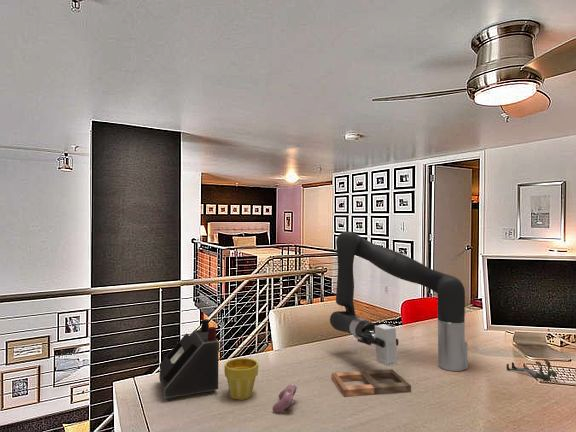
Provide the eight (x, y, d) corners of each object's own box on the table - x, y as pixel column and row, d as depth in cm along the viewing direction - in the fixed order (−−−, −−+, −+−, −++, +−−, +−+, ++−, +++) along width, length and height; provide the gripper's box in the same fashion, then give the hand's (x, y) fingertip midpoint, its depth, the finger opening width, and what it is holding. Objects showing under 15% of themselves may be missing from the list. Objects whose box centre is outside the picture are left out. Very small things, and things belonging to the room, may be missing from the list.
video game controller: (284, 420, 108) (296, 398, 108) (270, 411, 109) (281, 389, 109) (291, 404, 118) (301, 384, 118) (278, 396, 119) (288, 376, 119)
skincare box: (397, 365, 128) (397, 327, 128) (386, 367, 126) (386, 329, 126) (385, 359, 133) (384, 323, 133) (374, 361, 131) (374, 325, 132)
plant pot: (256, 402, 116) (256, 369, 116) (221, 402, 116) (221, 369, 116) (259, 388, 126) (259, 357, 126) (227, 388, 126) (227, 357, 126)
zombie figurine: (513, 349, 145) (559, 362, 132) (512, 368, 145) (559, 382, 132) (505, 352, 142) (552, 364, 129) (505, 371, 141) (552, 385, 129)
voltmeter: (158, 383, 130) (159, 322, 131) (207, 375, 137) (208, 318, 137) (163, 403, 115) (164, 335, 116) (218, 393, 122) (218, 329, 122)
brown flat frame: (392, 375, 137) (392, 369, 137) (411, 391, 123) (411, 385, 123) (331, 378, 134) (331, 373, 134) (343, 396, 120) (343, 390, 120)
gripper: (346, 321, 141) (371, 334, 125) (380, 318, 146) (408, 329, 129) (346, 342, 141) (371, 357, 125) (380, 338, 145) (409, 352, 129)
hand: (390, 343), depth 127 cm, fingers closed on skincare box, 4 cm apart
